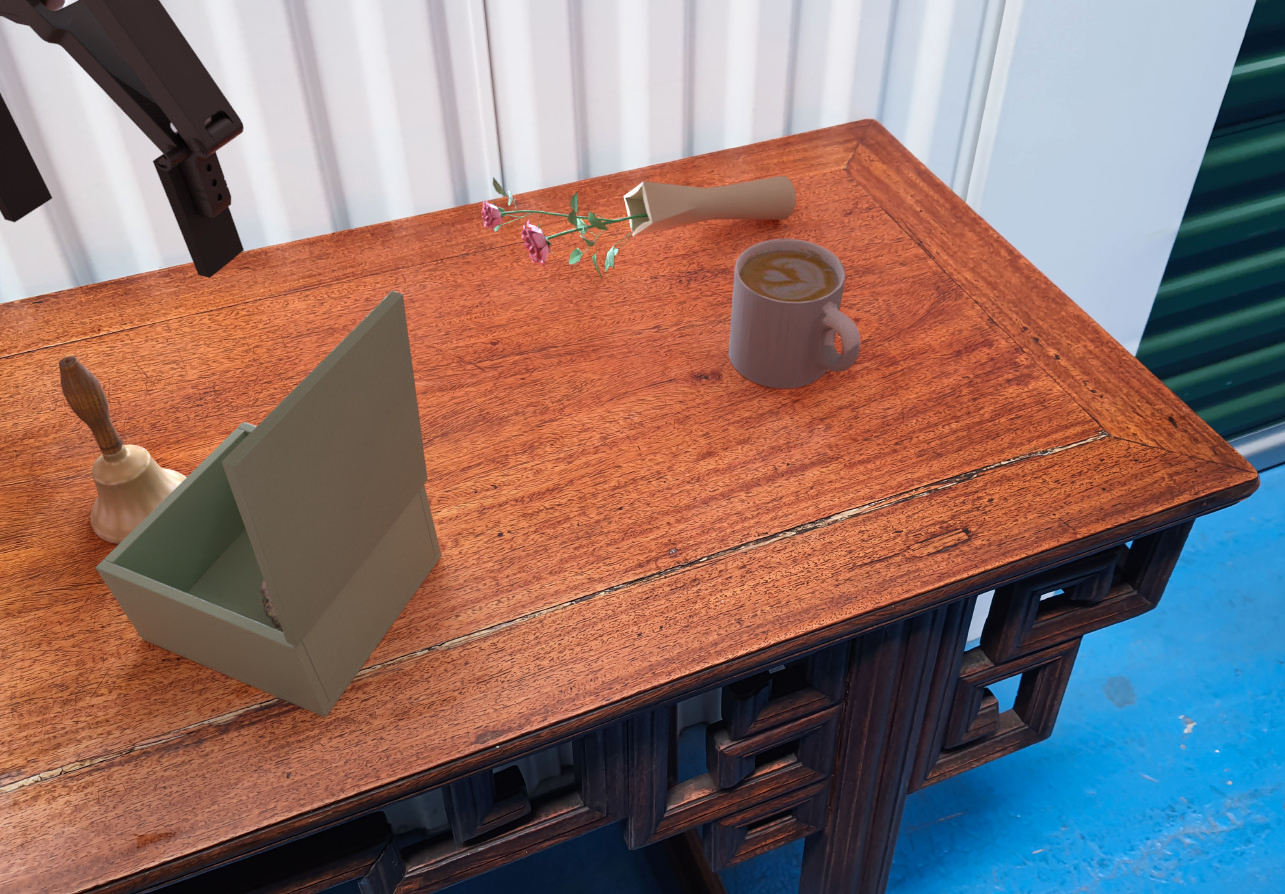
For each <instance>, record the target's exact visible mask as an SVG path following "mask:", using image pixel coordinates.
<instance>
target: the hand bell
mask: <svg viewBox="0 0 1285 894" xmlns="http://www.w3.org/2000/svg"><path fill="white" fill-rule="evenodd" d="M58 368H59V376H60V387H61V392H62V394H63V397H64V398H65V401H66V402H67V404H68V406H69V407H70V408H71V410H72V412H73V414H75V415H76V416H77V418H78V419H80V420H81V421H82V422H83V423H85V424H86V425H87V427H88V428H89V429H90V431H91V433H92V434H93V437H94V440H95V441H96V444H97V445H98V448H99V451H100V452H101V453H100V455H99V456H98V457H97V458H96V459H95V461H94V462H93V464H92V467H91V476H92V479H93V482H94V485H95V487H96V491H97V497H96V498H95V499H94V502H93V504H92V506H91V510H90V518H89V521H90V526H91V527H90V528H92V531H93V532H94V534H95V535H96V536H97V537H98V538H100V539H101V540H103V541H105V542H107V543H110V544H115V545H119V544H120V543H121V542H122V541H123V540H124V539H125V538H126V537H127V536H128V535H129V534H130V533H131V532H132V531H133V530H134V529H135V528H136V527H137V526H138V525H139V524H140V523H141V522H142V521H143V520H144V519H145V518H146V517H147V516H148V515H149V514H150V513H151V512H152V511H153V510H154V509H155V508H156V507H157V506H158V505H159V504H160V503H161V502H162V501H163V500H164V499H165V498H166V497H167V496H168V495H169V494H170V493H171V492H173V491H174V490H175V489H176V488H177V487H178V486H179V485H180V484H181V483H182V482H183V481H184V480H185V479H186V478H187V477H188V476H186V475H184V474H182V473H180V472H178V471H176V470H173V469H170V468H163V467H162V466H161V465H160V464H158V463H157V462H156V460H155V459H154V457H152V455H151V454H150V452H149V451H148V450H147V449H146V448H144V447H143V446H141V445H136V444H124V441H123V440H122V438H121V437H120V434H119V432H118V431H117V429H116V428H115V425H113V423H112V420H111V416H110V408H109V407H110V406H109V402H108V398H107V394H106V392H105V390H104V388H103V385H102V384H101V382H100V381H99V379H98V378H97V377H96V376H95V374H94V373H93V372H91V371H90V369H88V368H87V367H86V366H85V365H83V364H82V362H80V360H79V359H78V358H77V357H76V356H72V355H68V356H65V357H63V358H61V359H60V360H59V362H58Z"/></svg>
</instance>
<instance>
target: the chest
mask: <svg viewBox="0 0 1285 894" xmlns="http://www.w3.org/2000/svg"><path fill="white" fill-rule="evenodd" d="M257 426H258V425H255V424H251V423H248V422H245V421H243V422H241V423H240V424H239V425H238V426H237V428H235V429H234V430H233V431H232V432H231V433H230V434H229V435H228V436H227V437H226V438H225V439H224V440H223V441H222V442H221V443H220V444H219V445H218V446H217V447H216V448H215V449H214V450H213V451H212V452H211V453H210V454H209V455H207V457H206V458H205V459H204V460H202V462H201V463H200V464H199V465H197V467H195V468H194V469H193V470H192V472H191V473H190V474H188V475H187V476H186V477H187V478H186V479H185V480H184V481H183V482H182V483H181V484H180V485H179V486H178V487H177V488H176V489H175V490H174V491H173V492H171V493H170V494H169V495H168V496H167V497H166V498H165V499H164V500H163V501H162V502H161V503H160V504H159V505H158V506H157V507H156V508H155V509H154V510H153V511H152V512H151V513H150V514H149V515H148V516H147V517H146V518H145V519H144V520H143V521H142V522H141V523H140V524H139V525H138V526H137V527H136V528H135V529H134V530H133V531H132V532H131V533H130V534H129V535H128V536H127V537H126V538H125V539H124V540H123V541H122V542H121V543H120V544H117V546H115V547H114V549H113V550H112V551H110V553H108V554H107V555H106V556H105V557H104V558H103V560H101V561H100V562H99V563H98V564H97V565H96V566H95V570H96V572H97V573H98V574H99V576H100V578H101V579H102V581H103V582H104V584H105V585H106V587H107V588H108V589H109V591H110V592H111V594H112V596H113V597H114V599H115V600H116V602H117V604H118V605H119V607H120V608H121V609H122V611H123V612H124V614H125V616H126V617H127V618H128V620H129V622H130V624H131V625H132V626H133V628H134V629H135V631H136V632H137V634H138V635H139V636H140V638H141V640H142V641H145V642H148V643H150V644H152V645H155V646H157V647H160V648H161V649H164V650H166V651H168V652H171V653H173V654H176V655H178V656H180V657H183V658H185V659H187V660H189V661H192V662H194V663H197V664H198V665H201V666H204V667H206V668H208V669H211V670H213V671H215V672H217V673H219V674H223V675H225V676H227V677H229V678H232V679H233V680H237V681H239V682H241V683H244V684H245V685H248V686H251V687H253V688H255V689H258V690H259V691H262V692H265V693H266V694H269V695H271V696H274V697H276V698H278V699H281V700H283V701H285V702H288V703H291V704H293V705H295V706H297V707H300V708H302V709H305V710H306V711H309V712H311V713H313V714H316V715H318V716H321V717H322V718H327V717H328V715H329V714H330V712H331V711H332V710H333V709H334V707H335V706H336V704H337V703H338V701H339V700H340V699H341V697H342V696H343V695H344V693H345V691H347V689H348V687H349V686H350V685H351V683H352V682H353V680H354V679H355V678H356V676H357V675H358V674H359V672H360V671H361V669H362V668H363V666H364V665H365V664H366V662H367V661H368V659H369V658H370V657H371V656H372V654H373V653H374V651H375V650H376V648H378V646H379V645H380V643H381V642H382V640H383V639H384V637H385V636H386V634H387V633H388V632H389V630H390V629H391V627H392V626H393V625H394V623H396V621H397V619H398V618H399V617H400V615H401V613H402V612H403V611H404V610H405V608H406V607H407V605H408V604H409V602H410V601H411V600H412V598H413V597H414V596H415V594H416V593H417V591H418V590H419V589H420V587H421V586H422V584H423V583H424V582H425V580H426V579H427V577H428V576H429V575H430V573H431V572H432V571H433V569H434V567H436V565H437V563H438V562H439V561H440V560H441V558H442V551H441V547H440V543H439V538H438V535H437V530H436V527H435V522H434V517H433V513H432V509H431V505H430V502H429V497H428V494H427V489H426V486H425V484H424V485H423V486H422V488H421V489H420V490H419V492H418V493H417V494H416V495H415V497H414V498H413V499H412V501H411V502H410V503H409V504H408V506H407V507H406V508H405V509H404V511H403V512H402V513H401V515H400V516H399V517H398V518H397V520H396V521H395V522H394V523H393V525H392V526H391V527H390V529H389V530H388V531H387V532H386V534H385V535H384V536H383V538H382V539H381V540H380V541H379V543H378V544H377V545H376V546H375V548H374V549H373V550H372V552H371V553H370V554H369V555H368V557H367V558H366V559H365V561H364V562H363V563H362V564H361V566H360V567H359V568H358V569H357V571H356V572H355V573H354V575H353V576H352V577H351V578H350V580H349V581H348V582H347V583H346V585H345V586H344V587H343V589H342V590H341V591H340V592H339V594H338V595H337V596H336V598H335V599H334V600H333V601H332V603H331V604H330V605H329V606H328V608H327V609H326V610H325V612H324V613H323V614H322V615H321V617H320V618H319V619H318V621H317V622H316V623H315V624H314V626H313V627H312V628H311V629H310V631H309V632H308V633H307V635H306V636H305V637H304V638H303V640H302V641H301V642H300V643H299V645H298V646H297V647H296V646H294V645H292V644H289V643H287V642H286V639H285V636H284V633H283V632H281V631H278V630H276V629H274V628H273V626H272V624H271V619H270V618H269V617H267V616H266V614H265V612H264V610H263V609H264V605H263V601H262V593H261V586H262V583H263V581H264V578H263V575H262V572H261V570H260V567H259V564H258V561H257V559H256V556H255V553H254V550H253V548H252V545H251V542H250V539H249V537H248V534H247V531H246V528H245V526H244V523H243V520H242V517H241V514H240V512H239V509H238V506H237V503H236V501H235V498H234V495H233V492H232V490H231V487H230V484H229V481H228V479H227V476H226V473H225V470H224V468H223V465H222V461H223V460H224V459H225V458H226V457H227V456H228V455H229V454H230V453H231V452H232V451H233V450H234V449H235V448H236V447H237V446H238V445H239V444H240V443H241V442H242V441H243V440H244V439H245V438H246V437H247V436H248V435H249V434H250V433H251V432H252V431H253V430H254V429H255V428H256V427H257Z"/></svg>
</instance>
